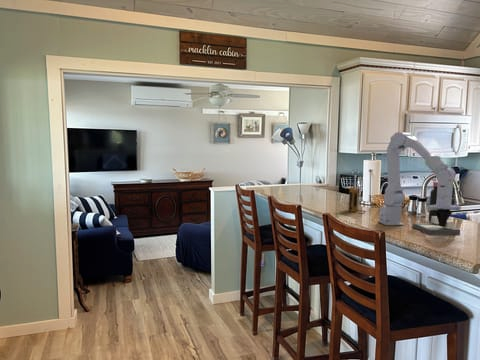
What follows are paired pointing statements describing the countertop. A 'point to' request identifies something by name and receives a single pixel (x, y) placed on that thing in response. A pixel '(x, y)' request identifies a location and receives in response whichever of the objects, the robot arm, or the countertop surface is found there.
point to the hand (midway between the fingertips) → (441, 226)
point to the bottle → (433, 199)
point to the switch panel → (434, 228)
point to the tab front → (449, 224)
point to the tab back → (434, 220)
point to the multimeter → (354, 198)
